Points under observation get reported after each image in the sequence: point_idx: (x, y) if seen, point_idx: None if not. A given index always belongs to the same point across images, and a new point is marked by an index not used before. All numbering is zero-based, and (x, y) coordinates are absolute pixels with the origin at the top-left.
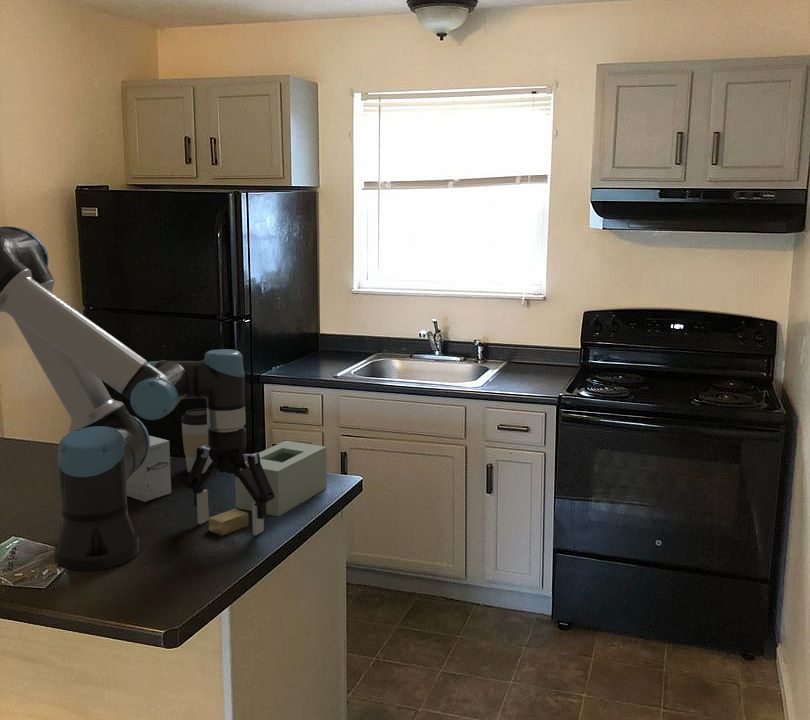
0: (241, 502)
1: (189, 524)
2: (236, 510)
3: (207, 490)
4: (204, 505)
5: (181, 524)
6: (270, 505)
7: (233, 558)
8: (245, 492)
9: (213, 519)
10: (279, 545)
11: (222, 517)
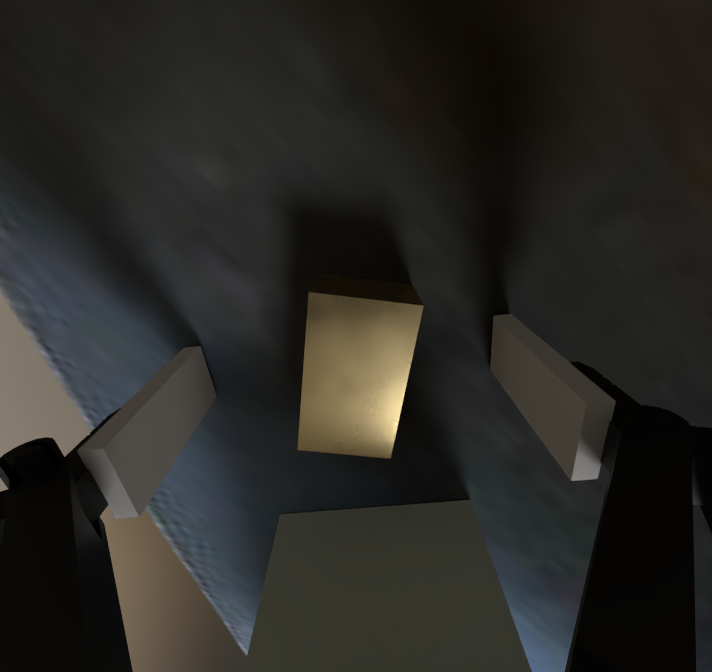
0: (450, 525)
1: (546, 290)
2: (367, 445)
3: (570, 477)
4: (528, 388)
5: (584, 269)
6: (310, 546)
7: (20, 64)
8: (439, 575)
9: (380, 302)
10: (31, 327)
11: (360, 349)
